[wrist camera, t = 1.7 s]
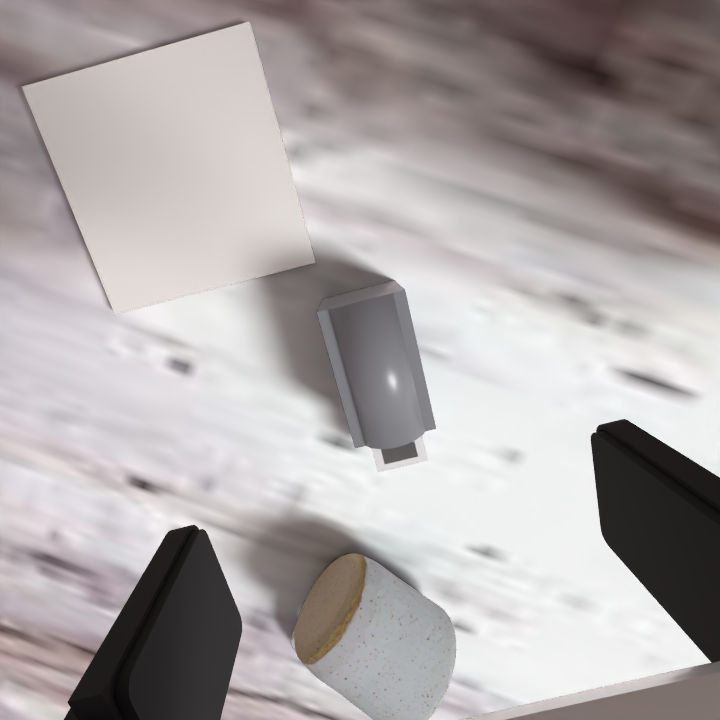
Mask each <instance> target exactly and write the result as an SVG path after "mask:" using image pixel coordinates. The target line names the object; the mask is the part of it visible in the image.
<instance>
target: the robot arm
mask: <svg viewBox="0 0 720 720" xmlns="http://www.w3.org/2000/svg"><path fill="white" fill-rule="evenodd" d="M591 445H592V454H593V463H594V472H595V481H596V490H597V499H598V508H599V517H600V526H601V532H602V535H603V537H604V539H605V541H606V543H607V544H608V546H609V547H610V548H611V549H612V550H613V551H614V553H615V554H616V555H617V556H618V557H619V558H620V559H621V560H622V562H623V563H624V564H625V565H626V566H627V567H628V568H629V570H630V571H631V572H632V573H633V574H634V575H635V576H636V577H637V579H638V580H639V581H640V582H641V583H642V584H643V585H644V587H645V588H646V589H647V590H648V591H649V592H650V593H651V594H652V596H653V597H654V598H655V599H656V600H657V601H658V602H659V604H660V605H661V606H662V607H663V608H664V609H665V610H666V611H667V613H668V614H669V615H670V616H671V617H672V618H673V619H674V620H675V622H676V623H677V624H678V625H679V626H680V627H681V628H682V630H683V631H684V632H685V633H686V634H687V635H688V636H689V637H690V639H691V640H692V641H693V642H694V643H695V644H696V645H697V647H698V648H699V649H700V650H701V651H702V652H703V653H704V654H705V656H706V657H707V658H708V659H709V660H710V661H711V662H712V663H709V664H704V665H699V666H694V667H689V668H685V669H680V670H676V671H671V672H667V673H662V674H658V675H653V676H649V677H645V678H640V679H636V680H631V681H627V682H622V683H618V684H614V685H609V686H605V687H600V688H596V689H591V690H587V691H583V692H578V693H574V694H569V695H565V696H561V697H556V698H552V699H547V700H543V701H538V702H534V703H530V704H525V705H521V706H517V707H513V708H508V709H504V710H500V711H495V712H491V713H487V714H482V715H478V716H474V717H469V718H465V719H461V720H720V478H719V477H718V476H716V475H715V474H713V473H711V472H710V471H708V470H707V469H705V468H703V467H702V466H700V465H699V464H697V463H695V462H694V461H692V460H690V459H689V458H687V457H686V456H684V455H682V454H681V453H679V452H678V451H676V450H674V449H673V448H671V447H670V446H668V445H666V444H665V443H663V442H662V441H660V440H658V439H657V438H655V437H654V436H652V435H650V434H649V433H647V432H645V431H644V430H642V429H641V428H639V427H637V426H636V425H634V424H633V423H631V422H629V421H628V420H625V419H623V420H618V421H614V422H610V423H606V424H602V425H599V426H598V427H597V430H596V433H593V434H592V435H591ZM241 633H242V621H241V616H240V614H239V611H238V609H237V606H236V604H235V601H234V599H233V596H232V594H231V591H230V589H229V586H228V584H227V581H226V579H225V577H224V574H223V572H222V569H221V567H220V564H219V562H218V559H217V557H216V554H215V552H214V549H213V547H212V544H211V542H210V539H209V537H208V535H207V533H206V531H205V530H203V529H201V530H199V529H198V527H197V526H195V525H191V526H187V527H183V528H179V529H175V530H171V531H169V532H168V533H167V534H166V536H165V538H164V539H163V541H162V543H161V545H160V546H159V548H158V550H157V551H156V553H155V555H154V556H153V558H152V560H151V561H150V563H149V565H148V567H147V568H146V570H145V572H144V573H143V575H142V577H141V578H140V580H139V582H138V584H137V585H136V587H135V589H134V590H133V592H132V594H131V595H130V597H129V599H128V601H127V602H126V604H125V606H124V607H123V609H122V611H121V612H120V614H119V616H118V617H117V619H116V621H115V623H114V624H113V626H112V628H111V629H110V631H109V633H108V634H107V636H106V638H105V640H104V641H103V643H102V645H101V646H100V648H99V650H98V651H97V653H96V655H95V657H94V658H93V660H92V662H91V663H90V665H89V667H88V668H87V670H86V672H85V673H84V675H83V677H82V679H81V680H80V682H79V684H78V685H77V687H76V689H75V690H74V692H73V694H72V696H71V697H70V699H69V701H68V704H69V705H70V707H71V708H70V710H69V712H68V713H67V715H66V717H65V719H64V720H220V718H221V714H222V710H223V706H224V702H225V698H226V694H227V690H228V686H229V682H230V678H231V674H232V670H233V666H234V662H235V658H236V654H237V650H238V646H239V642H240V638H241Z"/></svg>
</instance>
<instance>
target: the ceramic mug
mask: <svg viewBox="0 0 720 720" xmlns="http://www.w3.org/2000/svg"><path fill="white" fill-rule="evenodd" d="M291 645H292V648H293V649H294V651H295V652H296V653H297V656H298V657H299V659H300V660H301V661H302V663H303V664H304V665H305V666H306V667H307V668H308V669H309V670H310V671H311V673H313V674H314V675H315V676H316V677H317V678H318V679H320V680H321V681H322V682H324V683H325V684H327V685H328V686H330V687H331V688H333V689H334V690H335V691H337V692H338V693H340V694H341V695H342V696H344V697H345V698H346V699H347V700H349V701H350V702H351V703H352V704H354V705H355V706H356V707H358V708H359V709H360V710H362V711H363V712H364V713H366V714H367V715H368V716H369V717H371V718H372V719H373V720H428V719H429V718H430V717H431V716H432V715H433V713H434V712H435V710H436V709H437V707H438V706H439V704H440V703H441V701H442V700H443V698H444V696H445V693H446V691H447V689H448V687H449V684H450V680H451V677H452V673H453V669H454V664H455V657H456V638H455V632H454V628H453V625H452V622H451V620H450V618H449V616H448V615H447V613H446V612H445V611H444V610H443V609H442V608H441V607H439V606H438V605H437V604H435V603H434V602H432V601H431V600H429V599H428V598H426V597H425V596H423V595H422V594H421V593H419V592H418V591H416V590H415V589H414V588H412V587H411V586H409V585H408V584H407V583H405V582H404V581H402V580H401V579H399V578H398V577H396V576H395V575H394V574H392V573H391V572H390V571H388V570H387V569H386V568H384V567H383V566H381V565H380V564H379V563H377V562H376V561H374V560H372V559H369V558H367V557H365V556H363V555H360V554H356V553H351V554H347V555H344V556H341V557H339V558H338V559H336V560H335V561H334V562H332V563H331V564H330V565H329V566H328V567H327V568H326V569H325V570H324V571H323V573H322V574H321V575H320V576H319V578H318V579H317V580H316V582H315V583H314V585H313V587H312V588H311V590H310V592H309V593H308V595H307V597H306V599H305V601H304V603H303V606H302V608H301V611H300V613H299V616H298V619H297V622H296V626H295V628H294V631H293V633H292V637H291Z"/></svg>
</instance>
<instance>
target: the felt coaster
mask: <svg viewBox="0 0 720 720" xmlns="http://www.w3.org/2000/svg"><path fill="white" fill-rule="evenodd" d="M22 89H23V91H24V94H25V96H26V99H27V101H28V104H29V106H30V108H31V111H32V113H33V116H34V118H35V121H36V123H37V126H38V128H39V130H40V133H41V135H42V138H43V140H44V143H45V145H46V148H47V150H48V152H49V155H50V157H51V160H52V162H53V165H54V167H55V170H56V172H57V174H58V177H59V179H60V182H61V184H62V187H63V189H64V192H65V194H66V196H67V199H68V201H69V204H70V206H71V209H72V211H73V214H74V216H75V219H76V221H77V223H78V226H79V228H80V231H81V233H82V236H83V238H84V241H85V243H86V245H87V248H88V250H89V253H90V255H91V258H92V260H93V263H94V265H95V267H96V270H97V272H98V275H99V277H100V280H101V282H102V285H103V287H104V289H105V292H106V294H107V297H108V299H109V302H110V304H111V307H112V309H113V311H114V314H115V315H116V314H120V313H124V312H127V311H131V310H135V309H139V308H143V307H147V306H151V305H154V304H158V303H162V302H166V301H170V300H174V299H178V298H181V297H185V296H189V295H193V294H197V293H201V292H205V291H208V290H212V289H216V288H220V287H224V286H228V285H232V284H235V283H239V282H243V281H247V280H251V279H255V278H259V277H262V276H266V275H270V274H274V273H278V272H282V271H286V270H289V269H293V268H297V267H301V266H305V265H309V264H313V263H316V261H315V257H314V254H313V250H312V246H311V243H310V239H309V235H308V232H307V228H306V224H305V221H304V217H303V213H302V210H301V206H300V202H299V199H298V195H297V191H296V188H295V184H294V180H293V177H292V173H291V169H290V166H289V162H288V158H287V155H286V151H285V147H284V144H283V140H282V136H281V133H280V129H279V125H278V122H277V118H276V114H275V111H274V107H273V103H272V100H271V96H270V92H269V89H268V85H267V81H266V78H265V74H264V70H263V67H262V63H261V59H260V55H259V52H258V48H257V44H256V41H255V37H254V33H253V30H252V27H251V24H250V22H246V23H242V24H239V25H235V26H232V27H228V28H225V29H221V30H218V31H214V32H211V33H207V34H204V35H200V36H197V37H193V38H190V39H186V40H183V41H179V42H176V43H172V44H169V45H165V46H162V47H159V48H155V49H152V50H148V51H145V52H141V53H138V54H134V55H131V56H127V57H124V58H120V59H117V60H113V61H110V62H106V63H103V64H99V65H96V66H92V67H89V68H85V69H82V70H78V71H75V72H71V73H68V74H64V75H61V76H57V77H54V78H50V79H47V80H43V81H40V82H36V83H33V84H29V85H26V86H22Z"/></svg>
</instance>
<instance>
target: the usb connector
mask: <svg viewBox="0 0 720 720" xmlns="http://www.w3.org/2000/svg"><path fill="white" fill-rule="evenodd" d="M317 316H318V319H319V323H320V326H321V330H322V333H323V337H324V340H325V344H326V347H327V351H328V354H329V358H330V361H331V365H332V369H333V372H334V376H335V379H336V383H337V386H338V390H339V393H340V397H341V400H342V404H343V407H344V411H345V414H346V418H347V421H348V425H349V428H350V432H351V435H352V439H353V442H354V446H355V448H358V447H362V446H368V447H370V448H372V452H373V456H374V459H375V463H376V467H377V470H378V472H382V471H386V470H390V469H394V468H399V467H403V466H407V465H411V464H415V463H419V462H424V461H428V459H427V454H426V450H425V446H424V442H423V437H422V435H423V434H424V432H425V431H428V430H432V429H436V426H435V422H434V417H433V413H432V408H431V404H430V399H429V395H428V390H427V386H426V381H425V377H424V373H423V368H422V364H421V359H420V355H419V350H418V346H417V341H416V337H415V333H414V328H413V324H412V319H411V315H410V310H409V306H408V301H407V297H406V293H405V289H404V288H403V287H401V286H400V285H399V284H398V283H397V282H396V281H395V280H394V281H390V282H386V283H382V284H378V285H375V286H371V287H367V288H363V289H359V290H355V291H351V292H348V293H344V294H340V295H336V296H332V297H328V298H324V299H322V302H321V304H320V306H319V308H318V310H317Z"/></svg>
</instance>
